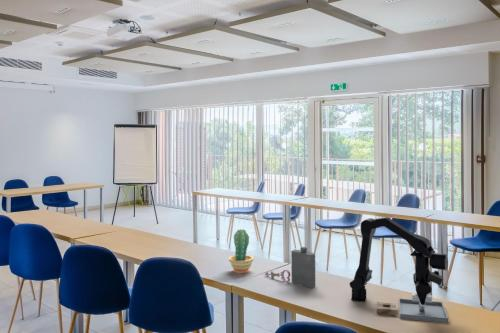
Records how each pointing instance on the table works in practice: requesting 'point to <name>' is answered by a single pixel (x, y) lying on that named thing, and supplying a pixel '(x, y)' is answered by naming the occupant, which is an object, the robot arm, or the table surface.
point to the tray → (431, 313)
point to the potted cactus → (241, 253)
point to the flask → (303, 267)
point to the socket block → (386, 308)
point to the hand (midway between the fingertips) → (421, 301)
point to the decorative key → (280, 275)
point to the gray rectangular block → (421, 307)
